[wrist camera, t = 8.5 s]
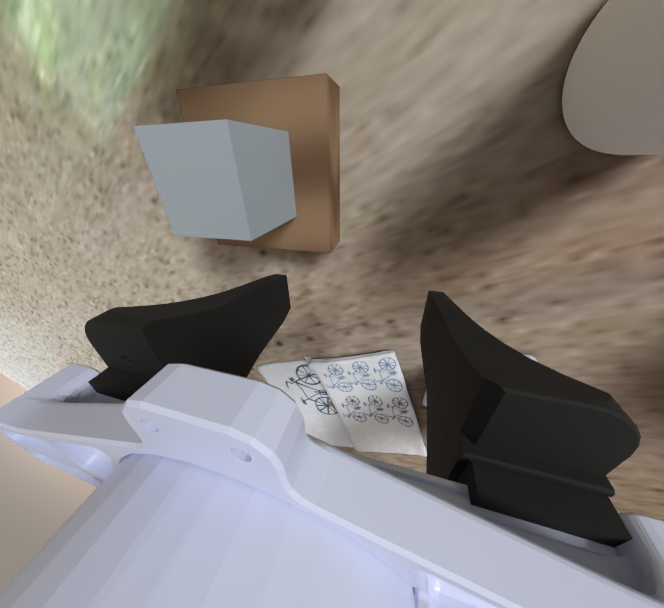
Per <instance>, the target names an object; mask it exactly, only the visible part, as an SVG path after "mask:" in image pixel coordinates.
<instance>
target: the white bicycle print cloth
mask: <svg viewBox="0 0 664 608" xmlns="http://www.w3.org/2000/svg"><path fill="white" fill-rule="evenodd" d="M305 359H306V360H301V361H292V362H281V363H271V364H264V365H260V366H258V367H257V369H258V371H259V373H260V374H261V375H262V376H263V377H264V378H265V380H266V381H267V383H268V384H270V385H273V386H275V387H278V388H280V389H282V390H283V391H284V392H285V393H286V394H288V395H289V396H290V397H291V398H292V399H294V400H295V402H296V404H297V406H298V407H299V409H300V411H301V413H302V415H303V417H304V423H305V431H306V433H307V434H309V435H311V436H313V437H316V438H318V439H320V440H322V441H324V442H326V443H328V444H330V445H332V446H343V447H354V448H355V450H357V451H360V452H382V453H403V454H409V455H415V454H417V455H421V456H425V457H427V451H426V448H425V445H424V442H423V439H422V436H421V433H420V429H419V425H418V422H417V418H416V415H415V412H414V409H413V406H412V403H411V400H410V397H409V394H408V391H407V387H406V384H405V380H404V377H403V374H402V372H401V368H400V365H399V363H398V360H397V358H396V355H395V351H381V352H377V353H371V354H363V355H356V356H346V357H336V358H324V359H311V357H306V356H305ZM330 401H332V403H333V404H334V406H335V408H336V410H337V411H336V410H335V409H334V408H333V407H332V406H330V404H329V402H330Z"/></svg>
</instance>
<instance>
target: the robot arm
mask: <svg viewBox="0 0 664 608" xmlns="http://www.w3.org/2000/svg"><path fill="white" fill-rule="evenodd" d="M290 308H291V306H290V299H289V291H288V284H287V276H286V275H279V274H275V275H270V276H267V277H264V278H261V279H259V280H256V281H253V282H250V283H248V284H245V285H242V286H239V287H236V288H234V289H231V290H228V291H225V292H221V293H218V294H214V295H210V296H206V297H202V298H197V299H192V300H187V301H182V302H175V303H168V304H160V305H150V306H135V307H117V308H113V309H110V310H108V311H106V312H104V313H102V314H100V315H98V316H96V317H94V318H93V319H91V320H89V321H87V323H86V325H85V333H86V335H87V338H88V339H89V341H90V343H91V344H92V346H93V347H94V348H95V350H96V351H97V352H98V354H99V355H100V356H101V358H102V359H103V360H104V362H105V363H106V364H107V366H108V368H107V369H106V370H104V371H103V372H101V373H100V372H99V371H98V370H96V369H94V368H91V367H87V366H83V365H80V364H71V365H69V366H67V367H66V368H64V369H63V370H61V371H59V372H58V373H56V374H55V375H53V376H51V377H50V378H48V379H46V380H45V381H43V382H42V383H40V384H38V385H37V386H35V387H33V388H32V389H30V390H29V391H27V392H25V393H24V394H22V395H20V396H19V397H17V398H16V399H14V400H13V401H11V402H9V403H8V404H6V405H4V406H3V407H1V408H0V432H1V433H2V434H3V435H5V436H6V437H8V438H9V439H10V440H12V441H13V442H14V443H16V444H17V445H19V446H20V447H21V448H23V449H24V450H25V451H27V452H28V453H29V454H31V455H32V456H34V457H35V458H37V459H38V460H40V461H43V462H45V463H47V464H49V465H52V466H54V467H56V468H58V469H61V470H63V471H65V472H67V473H69V474H71V475H73V476H75V477H77V478H79V479H81V480H83V481H85V482H87V483H89V484H91V485H93V486H96V487H97V488H96V489H95V490H94V492H93V493H92V494H91V495H90V496H89V497H88V498H87V499H86V500H85V501H84V502H83V503H82V504H81V505H80V506H79V507H78V509H77V510H76V511H75V512H74V513H73V514H72V515H71V516H70V517H69V518H68V519H67V520H66V521H65V522H64V523H63V524H62V526H61V527H60V528H59V529H58V530H57V531H56V532H55V533H54V534H53V535H52V536H51V537H50V538H49V539H48V540H47V541H46V543H45V544H44V545H43V546H42V547H41V548H40V549H39V550H38V551H37V552H36V553H35V554H34V555H33V556H32V557H31V559H30V560H29V561H28V562H27V563H26V564H25V565H24V566H23V567H22V568H21V569H20V570H19V571H18V572H17V573H16V574H15V576H14V577H13V578H12V579H11V580H10V581H9V582H8V583H7V584H6V585H5V586H4V587H3V588H2V589H1V591H0V608H664V520H661V519H657V518H654V517H650V516H646V515H642V514H637V513H619V514H618V513H617V511H616V509H615V508H614V506H613V504H612V502H611V501H610V499H609V497H608V496H610V497H612V496H614V495H615V490H614V488H613V487H612V485H611V484H610V482H609V480H608V479H607V477H606V474H608V473H609V472H610V471H612V470H613V469H614V468H616V467H617V466H618V465H620V464H621V463H622V462H623V461H625V460H626V459H627V458H629V457H630V456H631V455H632V454H633V452H634V451H635V450H636V449H637V448H638V446H639V443H640V438H641V435H640V433H639V430H638V428H637V426H636V425H635V424H634V422H633V421H632V420H631V419H630V418H629V416H628V415H627V414H626V413H625V412H624V410H623V409H622V408H621V407H620V406H619V404H618V403H617V402H616V401H615V400H614V399H613V397H612V396H611V395H610V394H609V393H606V392H604V391H602V390H599V389H597V388H594V387H592V386H589V385H587V384H585V383H582V382H580V381H577V380H575V379H573V378H570V377H568V376H565V375H563V374H561V373H559V372H557V371H555V370H553V369H550V368H548V367H546V366H544V365H542V364H540V363H538V362H537V360H536V359H535V357H533V356H530V355H524V354H521V353H520V352H518V351H516V350H514V349H513V348H511V347H509V346H508V345H506V344H504V343H503V342H501V341H500V340H498V339H497V338H495V337H494V336H493V335H491V334H490V333H488V332H487V331H485V330H484V329H483V328H482V327H480V326H479V325H478V324H477V323H475V322H474V321H473V320H472V319H471V318H470V317H468V316H467V315H466V314H465V313H464V312H463V311H462V310H461V309H460V308H459V307H458V306H457V305H456V304H455V303H454V302H453V301H452V300H451V299H450V298H449V297H448V296H447V295H446V294H445V293H443V292H436V291H429V292H428V296H427V301H426V305H425V309H424V314H423V318H422V322H421V335H420V344H421V352H422V359H423V366H424V374H425V381H426V390H425V394H424V397H423V400H422V401H423V405H424V406H426V407H427V474H426V473H422V472H418V471H415V470H411V469H408V468H404V467H401V466H397V465H394V464H390V463H387V462H383V461H380V460H376V459H372V458H369V457H365V456H362V455H358V454H355V453H351V452H348V451H344V450H341V449H339V448H336V447H334V446H332V445H330V444H328V443H326V442H324V441H322V440H320V439H318V438H316V437H313V436H311V435H309V434H307V433H306V431H305V423H304V417H303V415H302V413H301V411H300V409H299V407H298V406H297V404H296V402H295V400H294V399H292V398H291V397H290V396H289V395H288V394H286V393H285V392H284V391H283V390H282V389H280V388H278V387H275V386H273V385H270V384H268V383H265V382H263V381H259V380H255V379H250V378H247V376H248V374H249V372H250V370H251V369H252V367H253V365H254V363H255V362H256V360H257V358H258V357H259V355H260V354H261V352H262V351H263V349H264V348H265V346H266V345H267V344H268V342H269V341H270V340H271V338H272V337H273V336H274V334H275V333H276V332H277V330H278V329H279V327H280V326H281V325H282V323H283V322H284V320H285V318H286V316H287V314H288V312H289V310H290Z"/></svg>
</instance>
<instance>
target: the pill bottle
mask: <svg viewBox="0 0 664 608" xmlns="http://www.w3.org/2000/svg"><path fill="white" fill-rule="evenodd" d="M562 110H563V116H564V120H565V123H566V126H567V128H568V130H569V131H570V133H571V134H572V136H573V137H574V138H575V139H576V140H577V141H578V142H579V143H581V144H582V145H584V146H585V147H587V148H589V149H592V150H595V151H598V152H602V153H608V154H614V155H664V0H608V1H607V3H606V4H605V5H604V6H603V8H602V9H601V10H600V12H599V13H598V14H597V16H596V17H595V18H594V20H593V21H592V23H591V24H590V26H589V27H588V29H587V31H586V32H585V34H584V36H583V37H582V39H581V41H580V43H579V45H578V47H577V49H576V51H575V53H574V55H573V57H572V60H571V62H570V65H569V68H568V71H567V74H566V78H565V82H564V87H563V94H562Z"/></svg>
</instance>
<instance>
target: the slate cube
mask: <svg viewBox="0 0 664 608" xmlns="http://www.w3.org/2000/svg"><path fill="white" fill-rule="evenodd" d="M133 127H134V130H135V132H136V135H137V138H138V140H139V143H140V146H141V148H142V151H143V154H144V156H145V159H146V162H147V164H148V167H149V170H150V172H151V175H152V177H153V180H154V183H155V185H156V188H157V191H158V193H159V196H160V199H161V201H162V204H163V207H164V209H165V212H166V215H167V217H168V220H169V223H170V225H171V228H172V231H173V233H174V236H188V237H202V238H217V239H232V240H247V241H252V240H254V239H256V238H258V237H259V236H261V235H263V234H265V233H267V232H269V231H271V230H272V229H274V228H276V227H278V226H280V225H282V224H284V223H285V222H287V221H289V220H291V219H293V218H295V217H297V216H296V206H295V195H294V185H293V175H292V165H291V154H290V144H289V134H288V132H287V131H282V130H277V129H272V128H267V127H262V126H257V125H252V124H247V123H242V122H237V121H232V120H227V119H224V120H211V121H198V122H184V123H171V124H158V125H144V126H133Z"/></svg>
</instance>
